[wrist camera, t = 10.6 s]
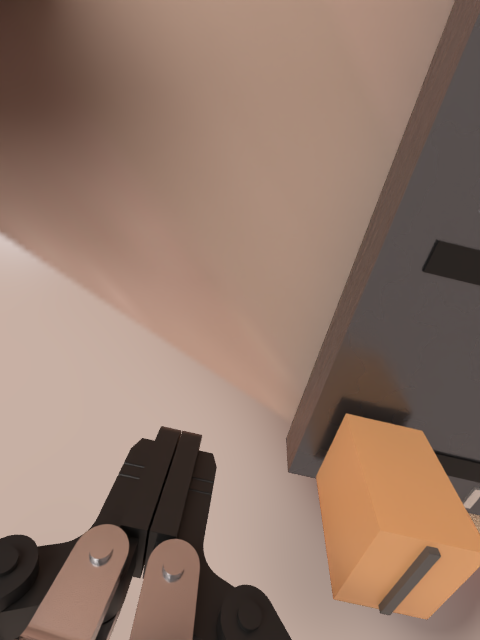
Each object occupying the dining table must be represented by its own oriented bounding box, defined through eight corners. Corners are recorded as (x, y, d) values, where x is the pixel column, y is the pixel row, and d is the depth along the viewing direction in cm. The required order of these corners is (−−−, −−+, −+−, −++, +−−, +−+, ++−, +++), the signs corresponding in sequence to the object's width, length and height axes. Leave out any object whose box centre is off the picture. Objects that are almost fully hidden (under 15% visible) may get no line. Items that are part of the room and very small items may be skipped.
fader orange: (346, 413, 13) (382, 538, 8) (422, 430, 13) (495, 563, 9) (316, 476, 14) (334, 607, 10) (383, 491, 14) (429, 627, 10)
